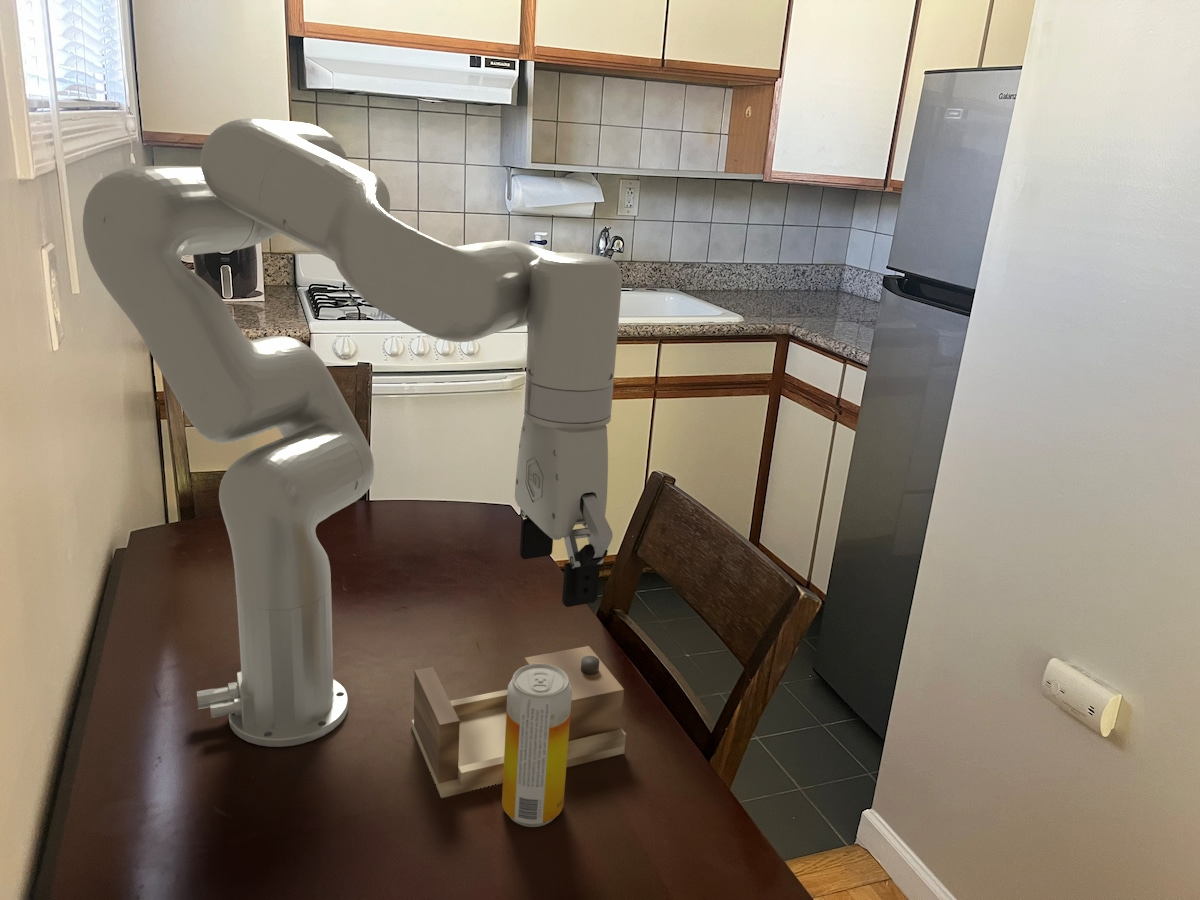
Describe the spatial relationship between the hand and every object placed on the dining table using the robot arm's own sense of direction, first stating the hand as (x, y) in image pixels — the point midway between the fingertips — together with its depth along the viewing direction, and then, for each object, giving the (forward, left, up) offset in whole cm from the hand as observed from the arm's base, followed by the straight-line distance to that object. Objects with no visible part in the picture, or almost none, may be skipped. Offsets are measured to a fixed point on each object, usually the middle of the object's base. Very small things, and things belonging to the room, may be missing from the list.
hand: (556, 578), depth 82 cm
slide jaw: (+7, +9, -23) cm, 26 cm away
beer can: (-2, -1, -25) cm, 25 cm away
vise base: (+1, +9, -25) cm, 26 cm away
